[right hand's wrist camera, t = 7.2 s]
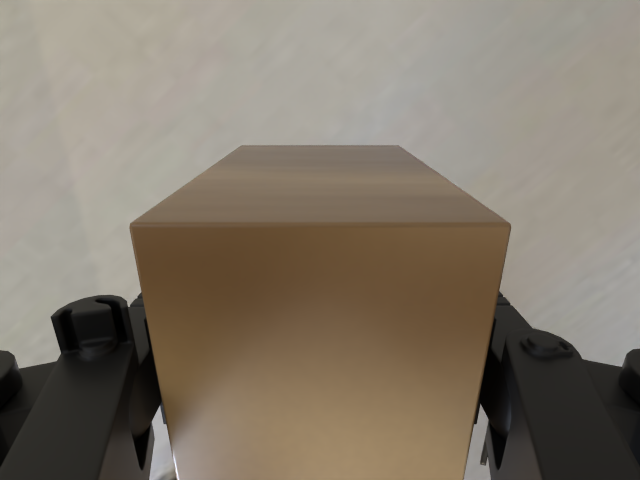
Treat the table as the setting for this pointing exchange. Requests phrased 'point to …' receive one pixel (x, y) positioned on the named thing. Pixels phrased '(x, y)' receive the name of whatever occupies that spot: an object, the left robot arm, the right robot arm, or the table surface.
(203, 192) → the bar
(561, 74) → the table surface
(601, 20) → the table surface
